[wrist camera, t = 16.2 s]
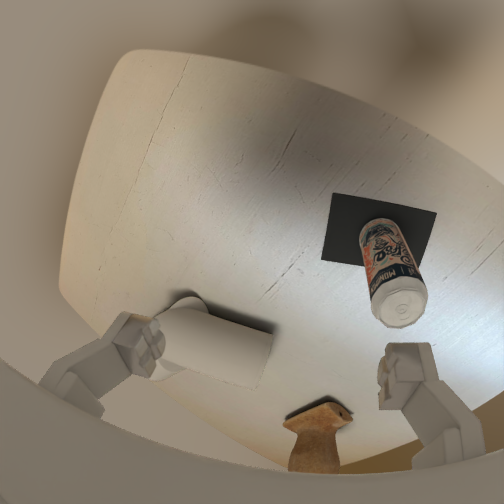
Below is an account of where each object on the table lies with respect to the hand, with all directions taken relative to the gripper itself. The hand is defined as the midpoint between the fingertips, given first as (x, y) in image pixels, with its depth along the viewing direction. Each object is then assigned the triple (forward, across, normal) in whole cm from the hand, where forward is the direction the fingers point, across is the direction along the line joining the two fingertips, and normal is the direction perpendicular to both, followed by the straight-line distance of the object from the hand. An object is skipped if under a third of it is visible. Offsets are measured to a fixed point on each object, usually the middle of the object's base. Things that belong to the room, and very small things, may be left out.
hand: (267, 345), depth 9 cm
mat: (+22, -9, +7) cm, 24 cm away
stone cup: (+21, -7, +48) cm, 53 cm away
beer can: (+22, -9, +7) cm, 24 cm away
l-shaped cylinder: (+22, +13, +25) cm, 36 cm away
